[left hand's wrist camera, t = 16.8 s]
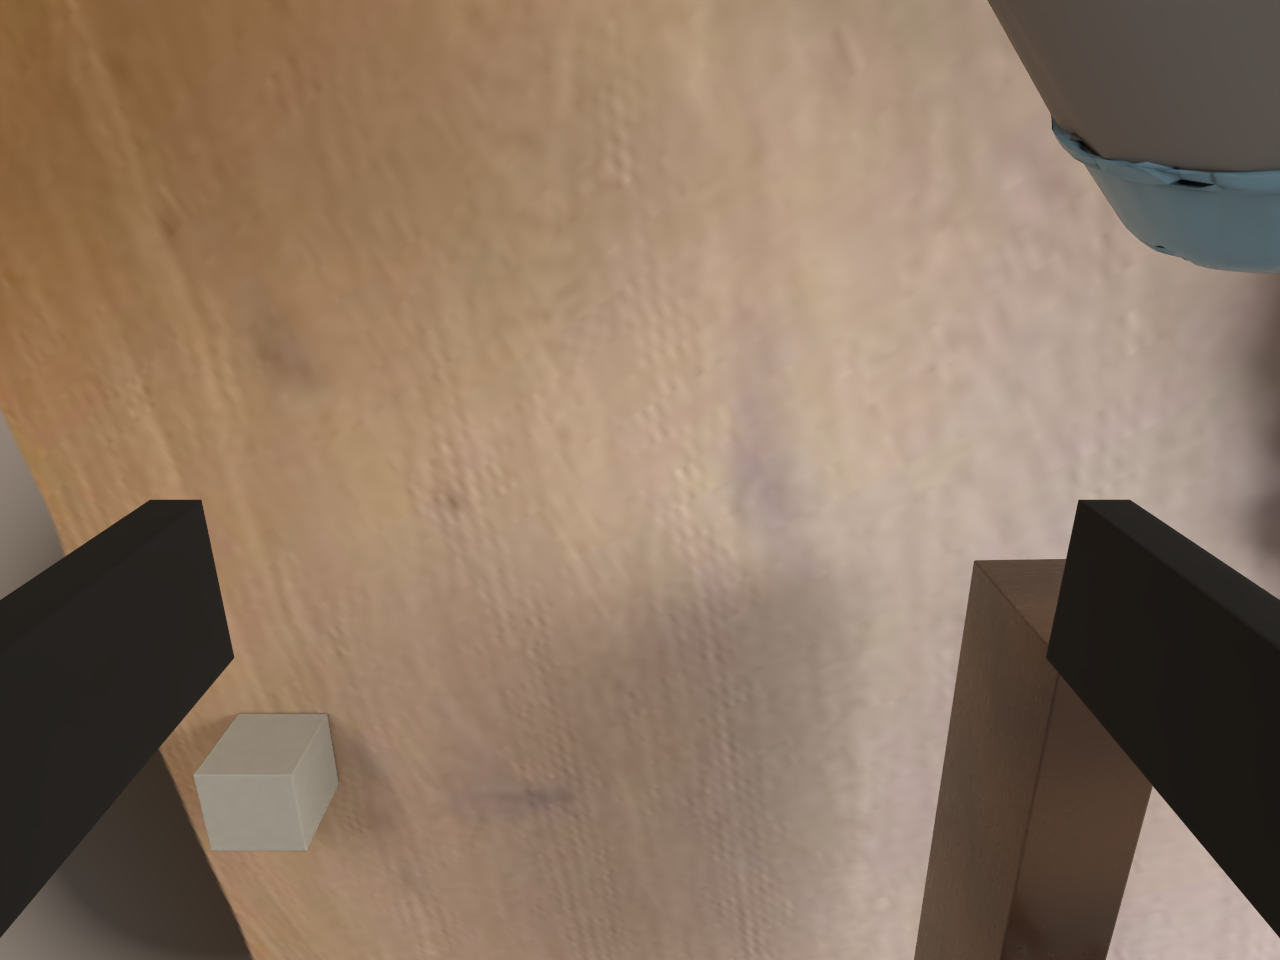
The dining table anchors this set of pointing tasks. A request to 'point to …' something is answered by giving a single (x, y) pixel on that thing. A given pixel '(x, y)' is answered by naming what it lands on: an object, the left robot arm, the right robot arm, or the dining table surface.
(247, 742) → the rubber block
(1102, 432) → the dining table surface
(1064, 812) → the bar
